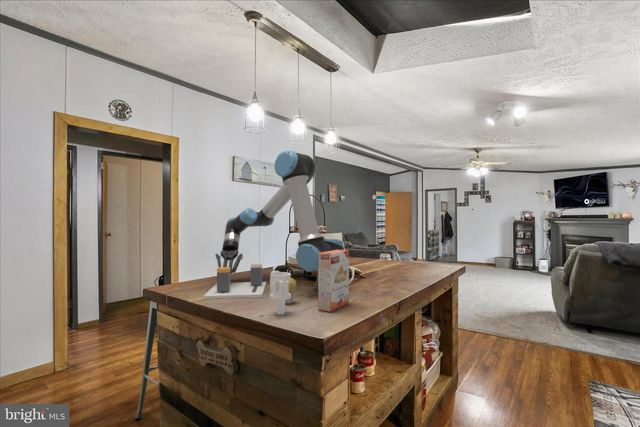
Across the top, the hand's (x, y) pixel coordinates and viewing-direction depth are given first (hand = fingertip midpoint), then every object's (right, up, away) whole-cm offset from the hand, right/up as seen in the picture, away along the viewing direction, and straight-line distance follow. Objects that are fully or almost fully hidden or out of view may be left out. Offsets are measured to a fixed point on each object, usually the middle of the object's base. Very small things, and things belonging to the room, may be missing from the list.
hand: (224, 284), depth 148 cm
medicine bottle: (+25, -4, -2) cm, 25 cm away
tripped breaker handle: (0, -2, -3) cm, 4 cm away
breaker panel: (+5, -3, +3) cm, 7 cm away
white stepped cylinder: (+29, -3, -31) cm, 43 cm away
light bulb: (+30, -3, -18) cm, 35 cm away
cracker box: (+48, -3, -24) cm, 53 cm away
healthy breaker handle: (+12, -2, +9) cm, 16 cm away
